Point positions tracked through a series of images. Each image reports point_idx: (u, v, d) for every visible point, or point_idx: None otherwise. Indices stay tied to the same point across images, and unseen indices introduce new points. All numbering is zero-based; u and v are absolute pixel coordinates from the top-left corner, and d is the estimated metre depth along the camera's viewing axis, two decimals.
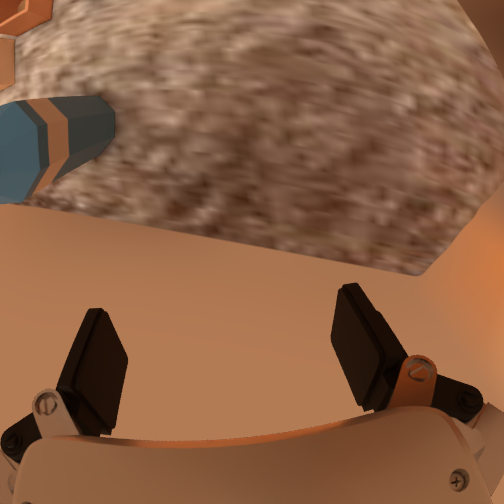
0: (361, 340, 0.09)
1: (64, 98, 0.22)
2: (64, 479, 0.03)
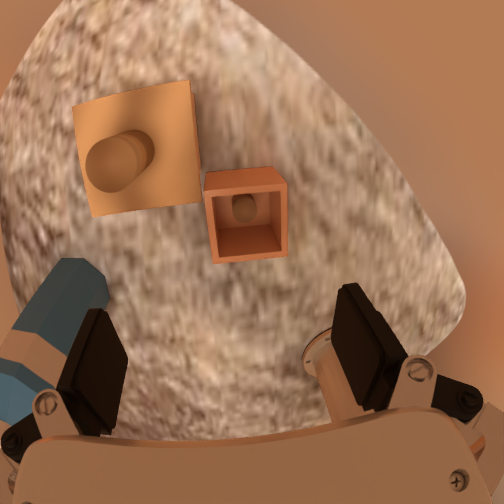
0: (361, 340, 0.09)
1: None
2: (64, 479, 0.03)
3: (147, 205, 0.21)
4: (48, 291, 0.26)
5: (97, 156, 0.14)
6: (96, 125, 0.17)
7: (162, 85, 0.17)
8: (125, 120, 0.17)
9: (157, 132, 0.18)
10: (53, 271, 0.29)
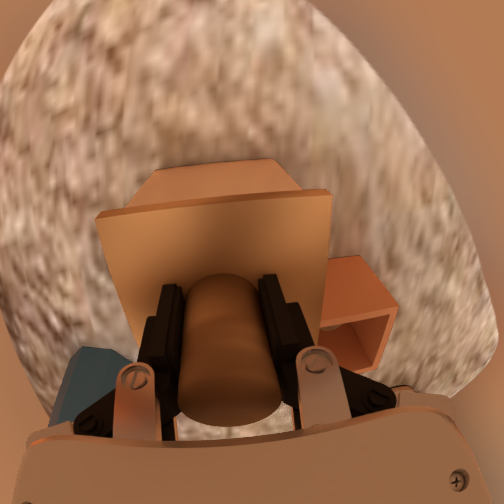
0: (268, 328, 0.10)
1: None
2: (64, 479, 0.03)
3: None
4: (79, 405, 0.20)
5: (205, 395, 0.08)
6: (150, 259, 0.11)
7: (285, 201, 0.10)
8: (209, 256, 0.11)
9: None
10: (76, 369, 0.23)
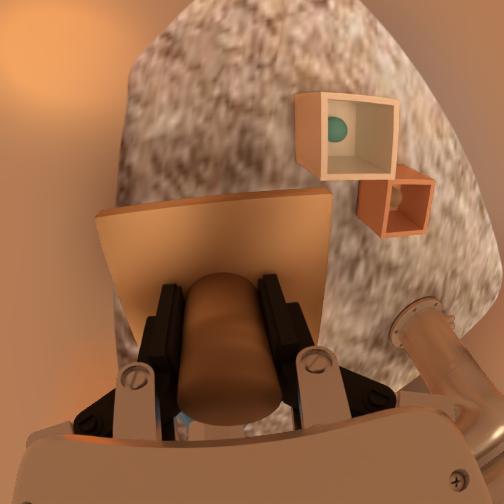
0: (268, 328, 0.10)
1: None
2: (64, 479, 0.03)
3: None
4: None
5: (205, 394, 0.08)
6: (149, 258, 0.11)
7: (285, 199, 0.10)
8: (208, 255, 0.11)
9: None
10: None
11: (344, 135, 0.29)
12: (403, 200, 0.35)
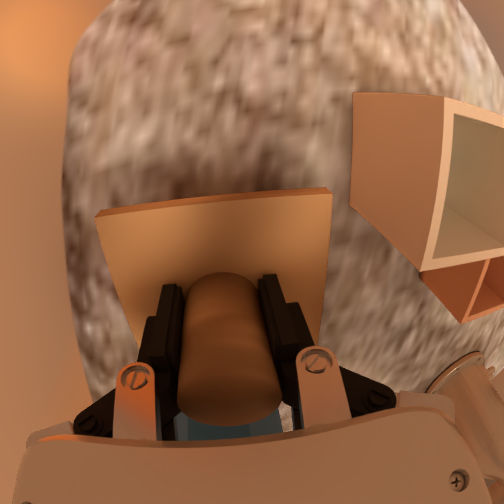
0: (268, 328, 0.10)
1: None
2: (64, 479, 0.03)
3: None
4: None
5: (205, 394, 0.08)
6: (149, 258, 0.11)
7: (285, 199, 0.10)
8: (208, 255, 0.11)
9: None
10: None
11: None
12: None
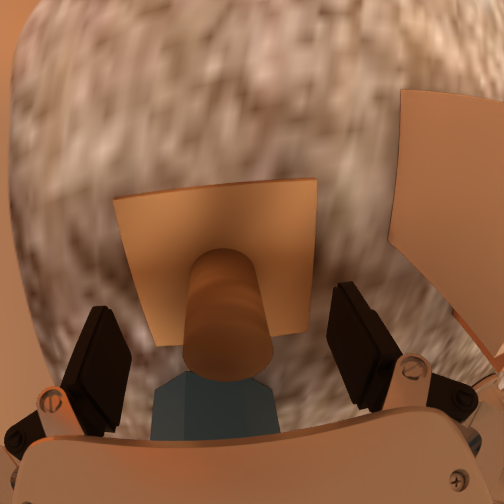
0: (355, 338, 0.09)
1: None
2: (64, 479, 0.03)
3: None
4: None
5: (207, 345, 0.09)
6: (160, 236, 0.13)
7: (276, 185, 0.12)
8: (211, 233, 0.13)
9: (262, 254, 0.14)
10: (190, 412, 0.15)
11: None
12: None
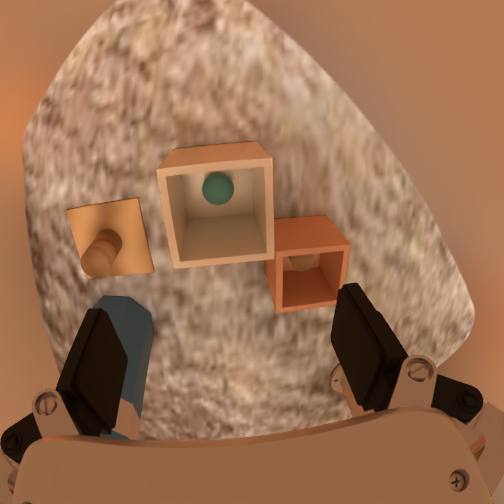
0: (361, 340, 0.09)
1: None
2: (64, 479, 0.03)
3: (121, 273, 0.32)
4: None
5: (87, 260, 0.25)
6: (83, 224, 0.28)
7: (121, 201, 0.28)
8: (101, 222, 0.29)
9: (122, 231, 0.30)
10: None
11: (226, 197, 0.26)
12: (322, 258, 0.33)
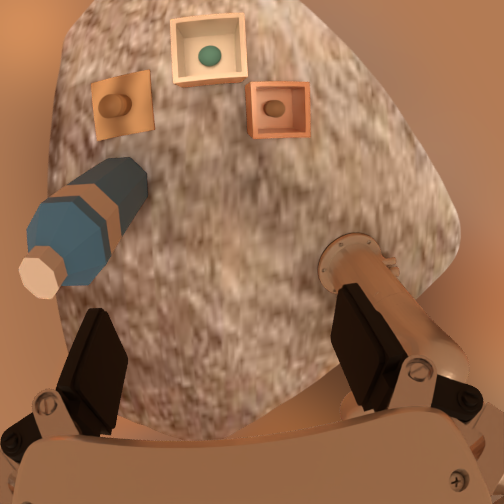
0: (361, 340, 0.09)
1: (127, 226, 0.32)
2: (64, 479, 0.03)
3: (126, 133, 0.36)
4: (101, 169, 0.31)
5: (104, 102, 0.29)
6: (103, 92, 0.32)
7: (136, 72, 0.32)
8: (118, 90, 0.33)
9: (133, 95, 0.33)
10: (102, 163, 0.35)
11: (215, 57, 0.30)
12: (294, 115, 0.36)
